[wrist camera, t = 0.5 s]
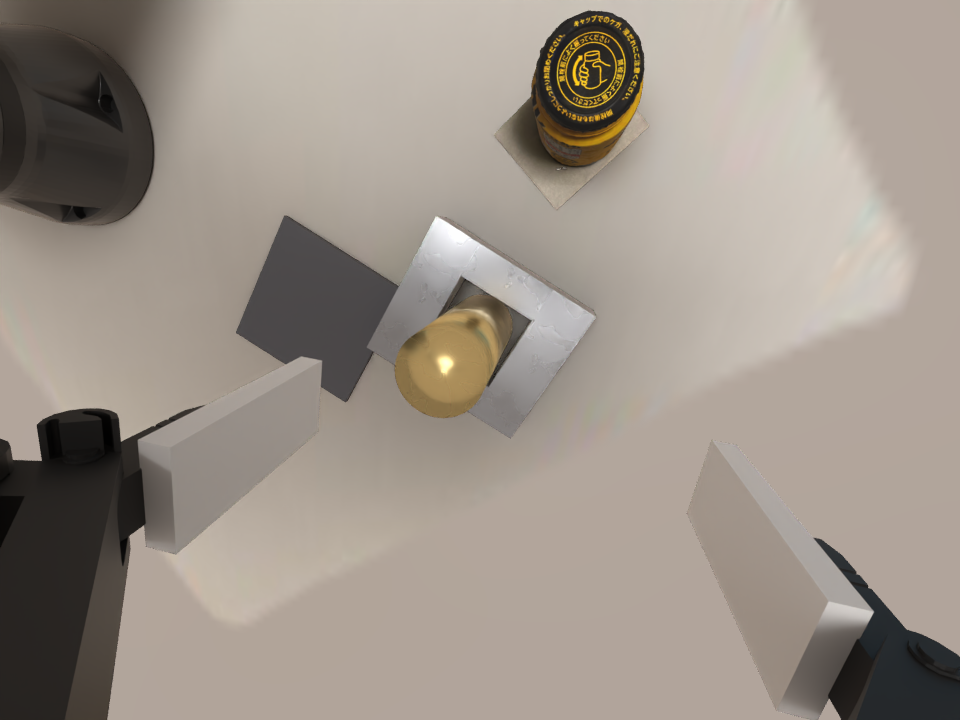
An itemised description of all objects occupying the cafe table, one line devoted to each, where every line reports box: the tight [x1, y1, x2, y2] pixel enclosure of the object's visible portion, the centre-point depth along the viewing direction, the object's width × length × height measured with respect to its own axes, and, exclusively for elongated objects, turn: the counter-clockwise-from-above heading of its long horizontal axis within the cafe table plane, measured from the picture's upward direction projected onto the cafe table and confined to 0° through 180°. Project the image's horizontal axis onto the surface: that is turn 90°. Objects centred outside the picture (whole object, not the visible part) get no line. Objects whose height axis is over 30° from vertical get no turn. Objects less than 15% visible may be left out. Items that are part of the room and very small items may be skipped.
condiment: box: [494, 11, 649, 210], centre depth 28 cm, size 7×8×12 cm
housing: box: [367, 216, 596, 439], centre depth 37 cm, size 14×12×3 cm
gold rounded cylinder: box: [395, 295, 513, 418], centre depth 32 cm, size 5×5×14 cm
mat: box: [236, 216, 399, 402], centre depth 41 cm, size 12×12×1 cm
